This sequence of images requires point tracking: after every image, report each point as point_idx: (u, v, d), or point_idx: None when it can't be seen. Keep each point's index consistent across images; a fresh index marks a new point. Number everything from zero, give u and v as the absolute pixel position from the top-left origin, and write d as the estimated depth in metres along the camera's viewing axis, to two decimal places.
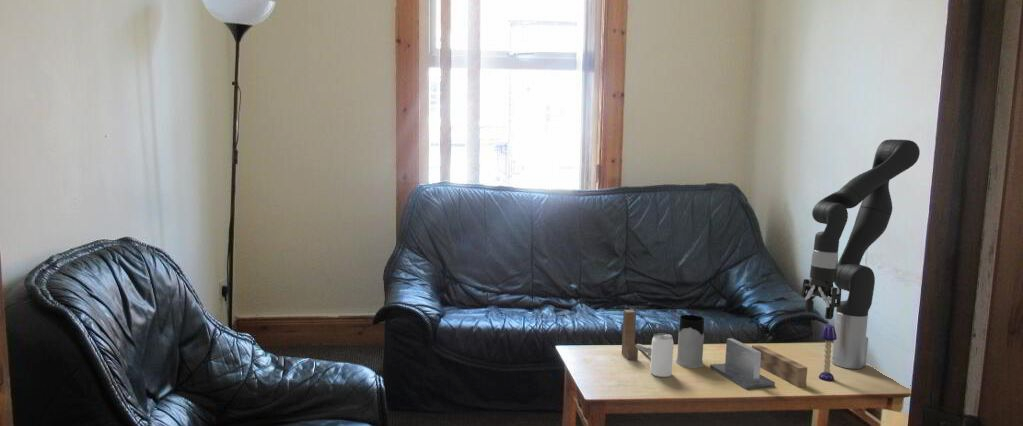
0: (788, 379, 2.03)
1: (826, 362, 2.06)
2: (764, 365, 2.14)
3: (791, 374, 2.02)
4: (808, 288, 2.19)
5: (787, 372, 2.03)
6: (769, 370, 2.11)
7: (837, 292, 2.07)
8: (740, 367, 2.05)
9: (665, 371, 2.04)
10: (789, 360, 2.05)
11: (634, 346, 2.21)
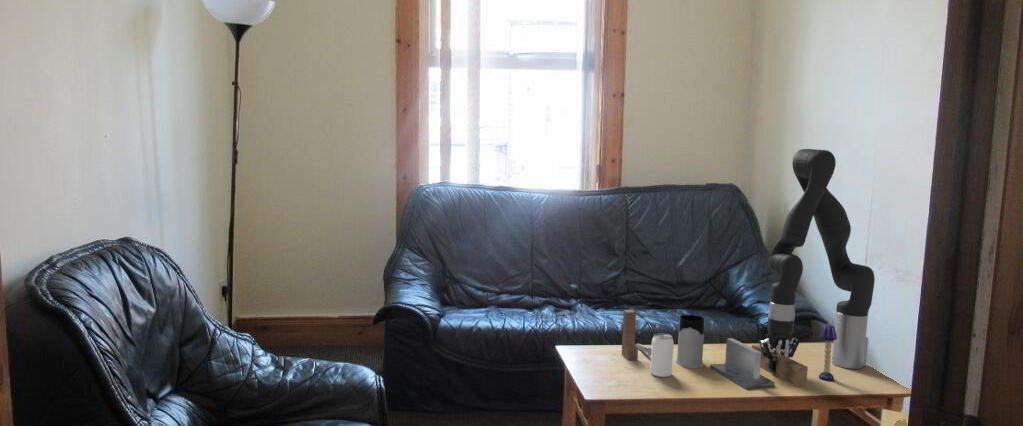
0: (788, 378, 2.03)
1: (826, 362, 2.06)
2: (764, 364, 2.14)
3: (791, 374, 2.02)
4: None
5: (787, 372, 2.03)
6: (769, 370, 2.11)
7: None
8: (740, 367, 2.05)
9: (665, 371, 2.04)
10: (789, 360, 2.05)
11: (634, 346, 2.21)
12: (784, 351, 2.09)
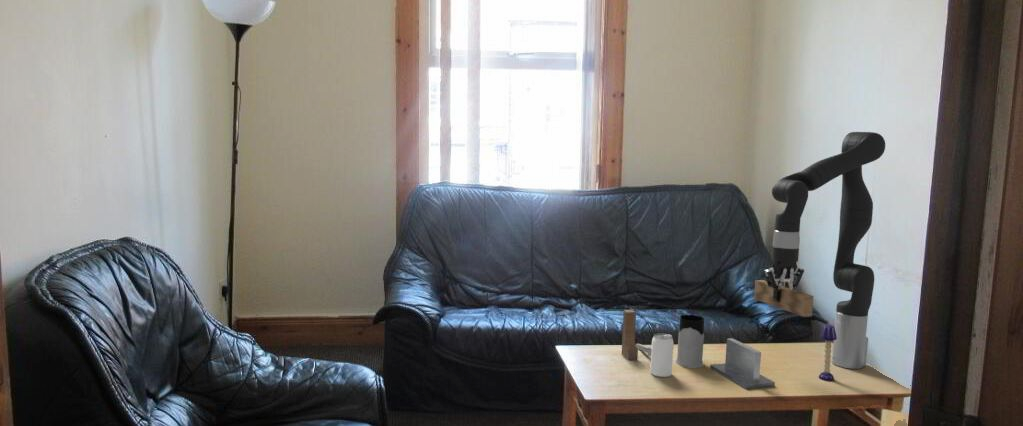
0: (793, 309, 2.01)
1: (826, 362, 2.06)
2: (768, 298, 2.11)
3: (797, 304, 1.99)
4: None
5: (793, 302, 2.01)
6: (773, 303, 2.09)
7: None
8: (740, 367, 2.05)
9: (665, 371, 2.04)
10: (794, 291, 2.03)
11: (634, 346, 2.21)
12: (789, 280, 2.06)
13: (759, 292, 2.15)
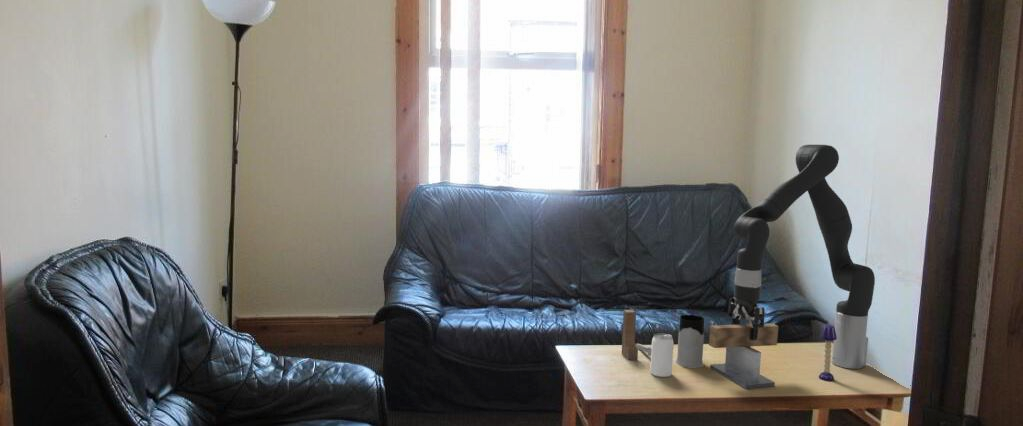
0: (765, 342, 2.06)
1: (826, 362, 2.06)
2: (734, 341, 2.02)
3: (769, 335, 2.06)
4: None
5: (764, 336, 2.05)
6: (741, 344, 2.03)
7: None
8: (740, 367, 2.05)
9: (665, 371, 2.04)
10: None
11: (634, 346, 2.21)
12: None
13: (722, 338, 2.01)
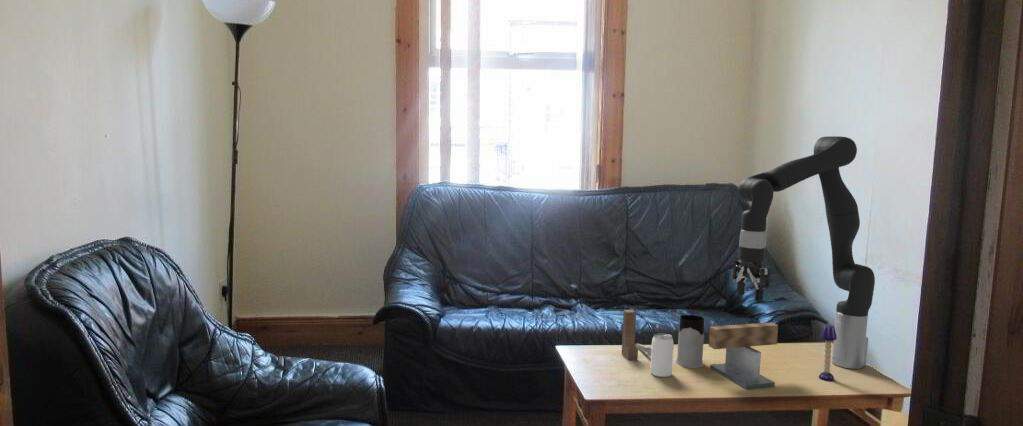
0: (765, 341, 2.06)
1: (826, 362, 2.06)
2: (734, 342, 2.02)
3: (769, 335, 2.06)
4: None
5: (764, 335, 2.05)
6: (741, 344, 2.03)
7: None
8: (740, 367, 2.05)
9: (665, 371, 2.04)
10: (756, 324, 2.06)
11: (634, 346, 2.21)
12: None
13: (722, 339, 2.01)
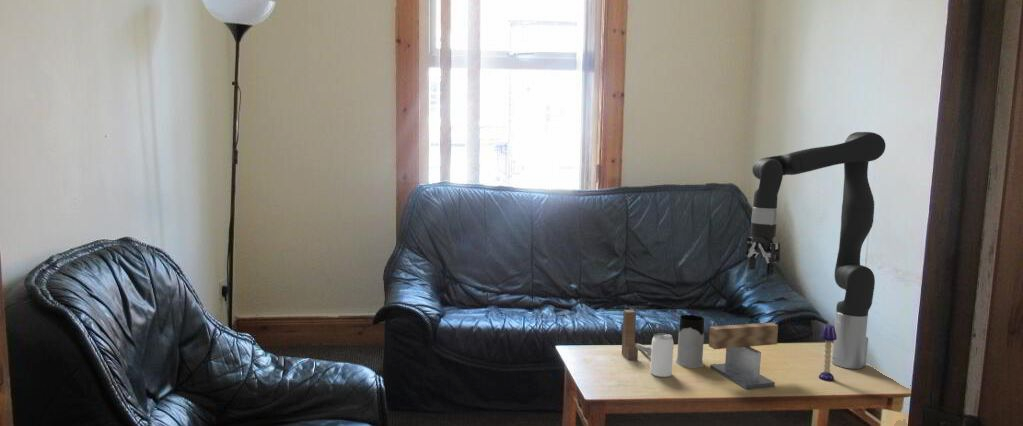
0: (765, 341, 2.06)
1: (826, 362, 2.06)
2: (734, 342, 2.02)
3: (769, 335, 2.06)
4: None
5: (764, 335, 2.05)
6: (741, 344, 2.03)
7: None
8: (740, 367, 2.05)
9: (665, 371, 2.04)
10: (756, 324, 2.06)
11: (634, 346, 2.21)
12: None
13: (722, 339, 2.01)
